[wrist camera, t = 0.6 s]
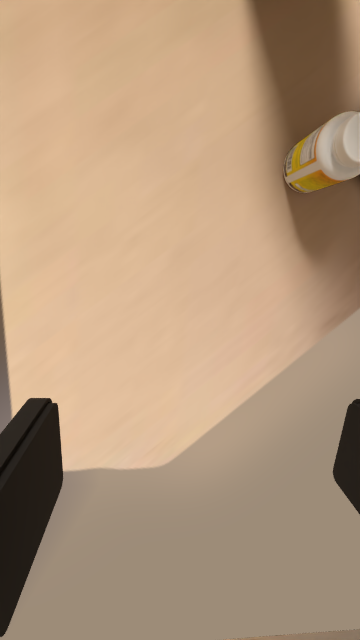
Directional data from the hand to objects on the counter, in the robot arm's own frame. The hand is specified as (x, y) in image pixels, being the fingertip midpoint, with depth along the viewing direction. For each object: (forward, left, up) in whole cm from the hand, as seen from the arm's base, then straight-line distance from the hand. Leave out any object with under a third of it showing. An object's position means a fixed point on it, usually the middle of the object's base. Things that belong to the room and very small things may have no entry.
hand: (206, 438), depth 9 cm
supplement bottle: (-19, +10, -28) cm, 35 cm away
